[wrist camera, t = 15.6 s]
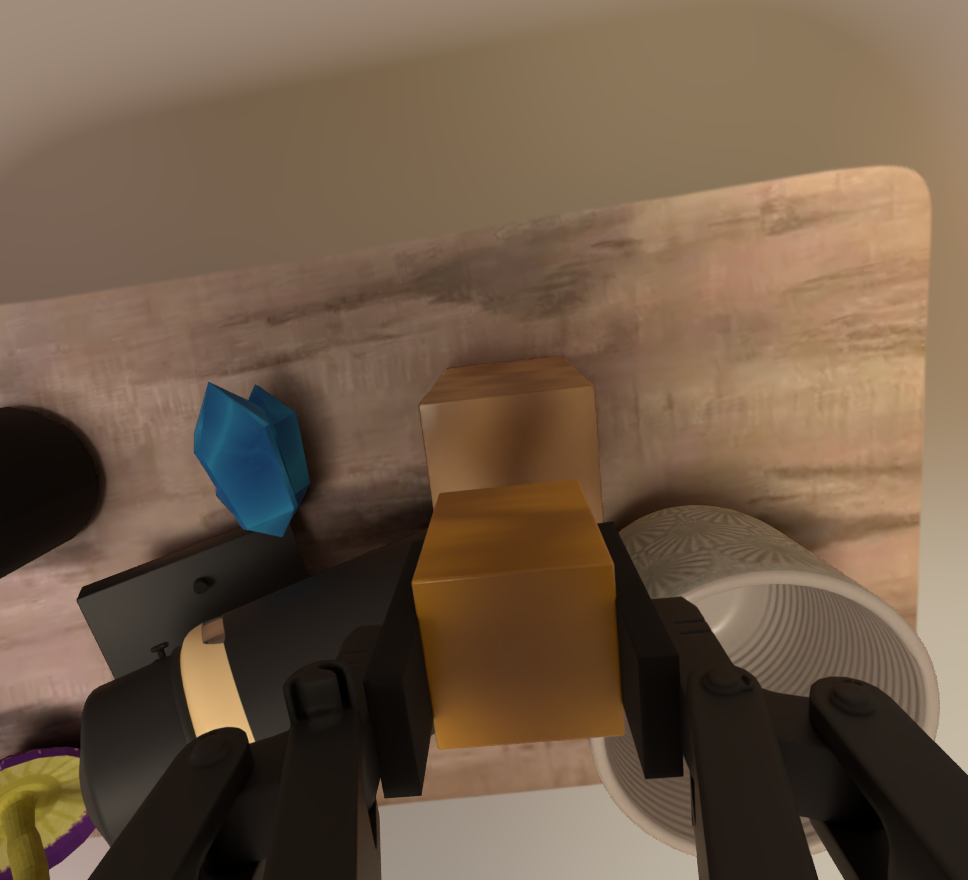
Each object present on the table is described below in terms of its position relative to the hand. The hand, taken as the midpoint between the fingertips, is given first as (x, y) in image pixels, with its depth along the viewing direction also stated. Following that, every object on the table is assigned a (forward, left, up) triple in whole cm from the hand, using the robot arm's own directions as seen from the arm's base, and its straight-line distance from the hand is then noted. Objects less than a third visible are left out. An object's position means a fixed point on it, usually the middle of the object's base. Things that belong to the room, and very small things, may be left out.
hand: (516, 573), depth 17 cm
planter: (+18, -2, -24) cm, 30 cm away
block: (0, 0, -2) cm, 2 cm away
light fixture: (-1, -17, -24) cm, 29 cm away
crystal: (-11, -11, -24) cm, 28 cm away
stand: (0, 0, -24) cm, 24 cm away
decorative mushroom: (-4, -44, -13) cm, 46 cm away
